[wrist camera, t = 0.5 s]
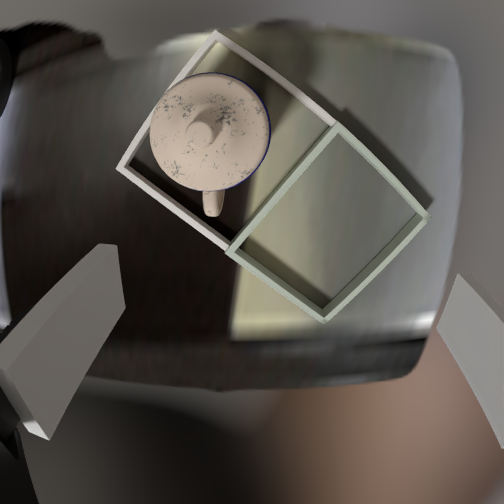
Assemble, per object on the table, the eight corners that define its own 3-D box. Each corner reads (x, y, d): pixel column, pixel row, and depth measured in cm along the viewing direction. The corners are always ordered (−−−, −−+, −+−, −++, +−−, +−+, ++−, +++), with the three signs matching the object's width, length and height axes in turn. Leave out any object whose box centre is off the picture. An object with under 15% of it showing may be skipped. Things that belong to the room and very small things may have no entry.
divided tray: (120, 166, 32) (113, 169, 30) (216, 32, 26) (213, 28, 24) (322, 316, 38) (324, 324, 36) (424, 212, 32) (431, 217, 30)
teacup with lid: (180, 84, 28) (135, 70, 17) (272, 85, 28) (275, 67, 17) (179, 198, 33) (138, 239, 22) (266, 202, 33) (264, 247, 22)
